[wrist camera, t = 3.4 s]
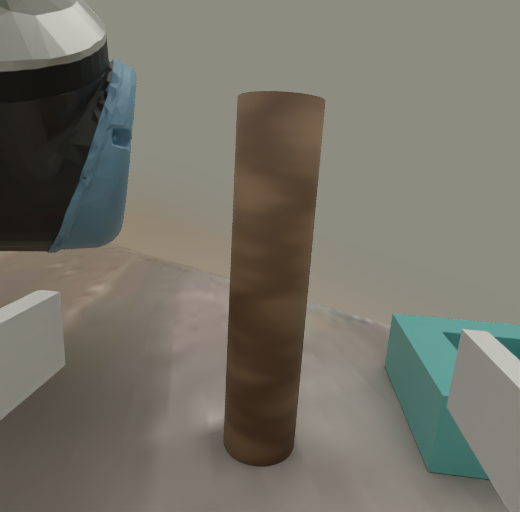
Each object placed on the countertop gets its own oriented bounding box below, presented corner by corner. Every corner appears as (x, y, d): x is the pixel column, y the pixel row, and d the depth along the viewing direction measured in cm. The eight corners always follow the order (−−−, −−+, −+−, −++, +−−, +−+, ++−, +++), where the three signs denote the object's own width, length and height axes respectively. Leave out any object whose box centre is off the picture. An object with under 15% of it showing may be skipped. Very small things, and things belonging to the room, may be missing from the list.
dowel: (217, 460, 22) (230, 89, 18) (230, 413, 27) (244, 103, 22) (293, 470, 22) (328, 93, 17) (294, 420, 26) (322, 107, 21)
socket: (428, 471, 22) (442, 395, 21) (384, 366, 34) (392, 313, 33) (652, 499, 21) (680, 421, 20) (528, 381, 33) (542, 326, 32)
